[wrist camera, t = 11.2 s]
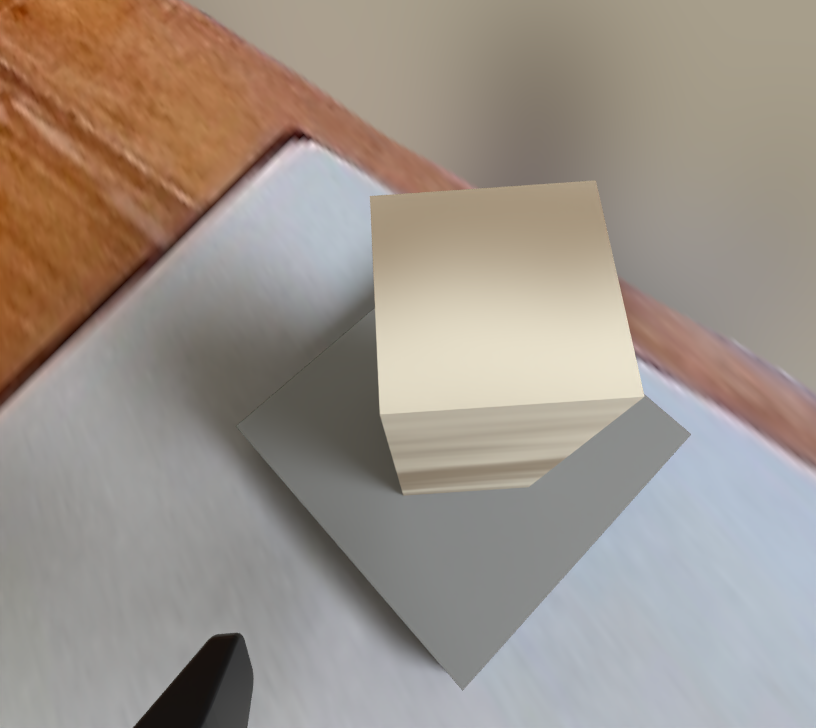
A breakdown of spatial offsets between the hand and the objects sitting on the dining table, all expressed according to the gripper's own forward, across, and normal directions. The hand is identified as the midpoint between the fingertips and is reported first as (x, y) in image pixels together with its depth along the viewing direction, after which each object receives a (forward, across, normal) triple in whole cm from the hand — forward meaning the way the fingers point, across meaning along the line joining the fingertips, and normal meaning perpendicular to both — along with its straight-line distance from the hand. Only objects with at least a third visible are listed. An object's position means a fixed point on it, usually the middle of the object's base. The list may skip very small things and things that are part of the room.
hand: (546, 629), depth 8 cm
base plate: (+14, 0, +5) cm, 15 cm away
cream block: (+12, 0, +4) cm, 12 cm away
